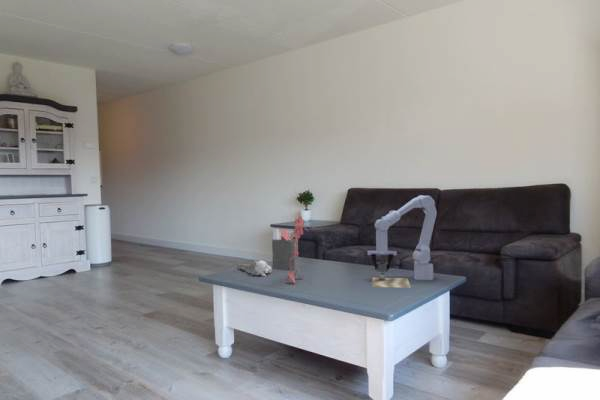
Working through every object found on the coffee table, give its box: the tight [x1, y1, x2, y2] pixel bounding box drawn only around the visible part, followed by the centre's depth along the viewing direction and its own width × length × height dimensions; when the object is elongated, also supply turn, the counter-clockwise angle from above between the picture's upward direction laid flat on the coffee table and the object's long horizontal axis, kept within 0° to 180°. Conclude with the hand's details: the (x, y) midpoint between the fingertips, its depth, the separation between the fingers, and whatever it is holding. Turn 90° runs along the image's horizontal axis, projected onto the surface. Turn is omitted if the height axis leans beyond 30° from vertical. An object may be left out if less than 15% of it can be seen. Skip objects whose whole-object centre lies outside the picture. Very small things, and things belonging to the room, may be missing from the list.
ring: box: [375, 261, 389, 273], centre depth 218 cm, size 6×6×4 cm
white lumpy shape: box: [255, 260, 273, 277], centre depth 241 cm, size 6×8×12 cm
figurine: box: [279, 215, 315, 286], centre depth 222 cm, size 15×26×35 cm, turn 157°
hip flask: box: [271, 235, 296, 272], centre depth 257 cm, size 16×4×20 cm, turn 56°
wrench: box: [236, 260, 258, 276], centre depth 249 cm, size 8×2×30 cm
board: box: [371, 277, 412, 289], centre depth 212 cm, size 18×20×1 cm
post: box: [379, 272, 386, 281], centre depth 218 cm, size 3×3×5 cm
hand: (382, 269), depth 218 cm, fingers closed on ring, 6 cm apart
